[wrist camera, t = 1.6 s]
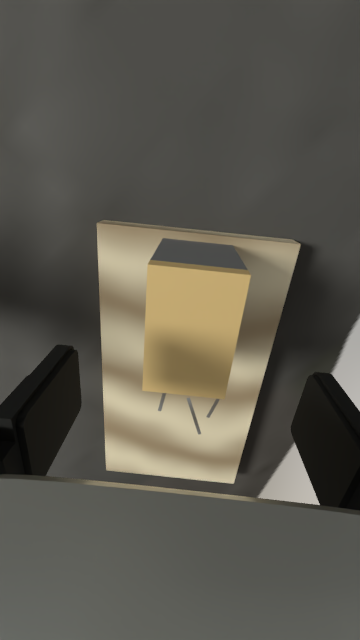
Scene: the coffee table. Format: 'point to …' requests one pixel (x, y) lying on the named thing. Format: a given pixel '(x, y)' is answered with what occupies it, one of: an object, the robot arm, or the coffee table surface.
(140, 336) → the board
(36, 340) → the coffee table surface
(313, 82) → the coffee table surface
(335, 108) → the coffee table surface
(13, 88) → the coffee table surface
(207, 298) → the block
